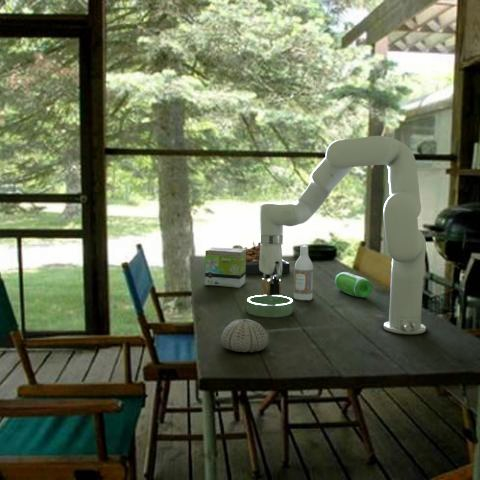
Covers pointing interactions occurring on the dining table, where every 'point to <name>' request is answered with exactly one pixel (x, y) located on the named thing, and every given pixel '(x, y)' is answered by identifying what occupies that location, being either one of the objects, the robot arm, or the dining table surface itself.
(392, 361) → the dining table surface
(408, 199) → the robot arm
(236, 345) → the sea urchin shell
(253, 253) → the food platter
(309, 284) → the bath foam
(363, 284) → the speaker
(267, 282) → the maple cube
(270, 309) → the bowl
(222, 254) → the tea box
